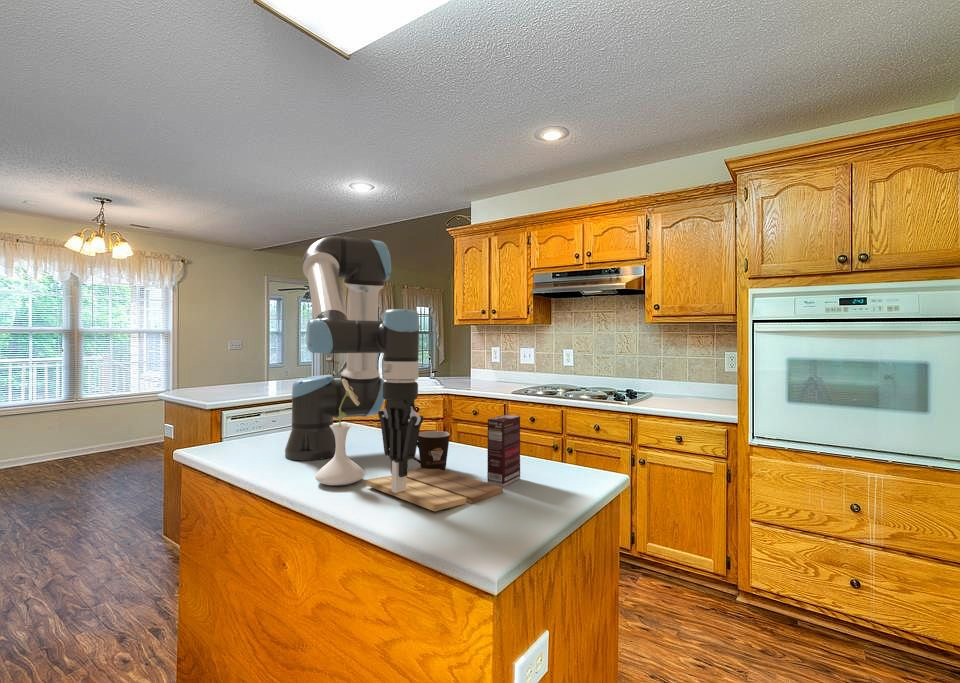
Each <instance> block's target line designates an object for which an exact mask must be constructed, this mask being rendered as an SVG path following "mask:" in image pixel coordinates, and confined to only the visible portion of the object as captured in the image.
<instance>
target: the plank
mask: <svg viewBox="0 0 960 683" xmlns="http://www.w3.org/2000/svg"><path fill="white" fill-rule="evenodd" d="M364 485H365V486H367V487H370V488H372V489H375V490H378V491H380V492H383V493H386V494H389V495H391V496H393V497H396V498H399V499H401V500H404V501H407V502H409V503H410V504H411V503H412V504H415V505H416V506H419V507H422V508H425V509H426V510H427V509H428V510H429V511H433V512H437V511H442V510H446V509H449V508H454V507H457V506H462V505H465V504H467V503H466V497H463V496H460V495H456V494H453V493H450V492H447V491H444V490H441V489H438V488H435V487H432V486H429V485H426V484H423V483H420V482H417V481H414V480H411V479H408V478H406V490H405V491H401V492H398V493H395V492H392V475H387V476H381V477H374V478H369V479H367V478H366V479H365V484H364Z"/></svg>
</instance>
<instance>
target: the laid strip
mask: <svg viewBox="0 0 960 683" xmlns="http://www.w3.org/2000/svg"><path fill="white" fill-rule="evenodd" d="M406 478H408V479H411V480H414V481H417V482H420V483H423V484H426V485H429V486H432V487H435V488H438V489H441V490H444V491H447V492H450V493H453V494H456V495H460V496H463V497H466V504H469V505H473V504H476V503H478V502H481V501H484V500H487V499H489V498H492V497H495V496H497V495H500V494H503V493H504V487H500V486H496V485H493V484H489V483H487V482H485V481H482V480H478V479H474V478H472V477H468V476H464V475H461V474H457V473H454V472H451V471H447V470H445V471H444V470H441V469H426V468H422V467H421V466H420V467H417V468H412V469H409V470H408V472H407V476H406Z"/></svg>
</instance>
